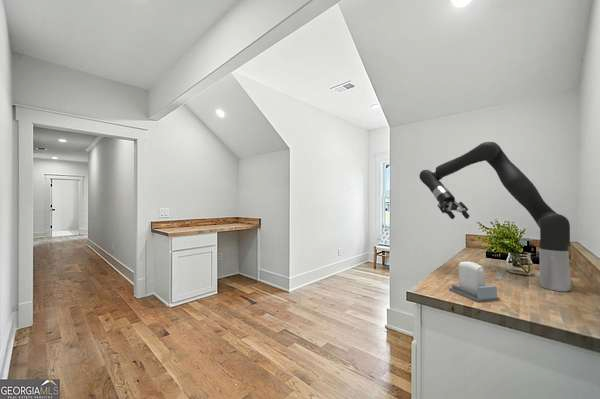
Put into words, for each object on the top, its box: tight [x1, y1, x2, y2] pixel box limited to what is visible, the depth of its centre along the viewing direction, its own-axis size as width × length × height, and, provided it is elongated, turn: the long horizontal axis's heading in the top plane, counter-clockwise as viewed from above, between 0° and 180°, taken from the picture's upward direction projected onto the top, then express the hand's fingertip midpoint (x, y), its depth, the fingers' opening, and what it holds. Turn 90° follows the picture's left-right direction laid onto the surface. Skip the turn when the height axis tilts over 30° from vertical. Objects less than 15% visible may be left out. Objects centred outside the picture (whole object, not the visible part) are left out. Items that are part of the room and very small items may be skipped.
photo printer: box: [458, 261, 486, 293], centre depth 105 cm, size 10×4×12 cm, turn 12°
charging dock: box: [449, 284, 500, 303], centre depth 104 cm, size 10×14×6 cm
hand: (460, 217), depth 127 cm, fingers open, 8 cm apart
